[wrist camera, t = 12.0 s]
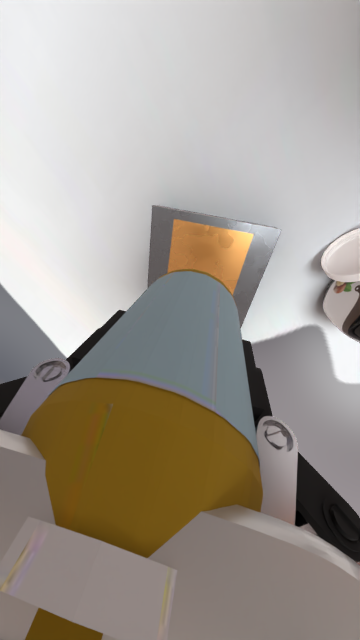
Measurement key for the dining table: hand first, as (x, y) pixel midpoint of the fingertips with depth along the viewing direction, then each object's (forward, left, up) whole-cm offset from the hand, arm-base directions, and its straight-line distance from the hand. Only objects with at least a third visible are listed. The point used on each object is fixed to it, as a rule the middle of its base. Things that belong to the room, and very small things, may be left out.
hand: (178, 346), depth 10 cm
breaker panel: (0, +5, -21) cm, 21 cm away
